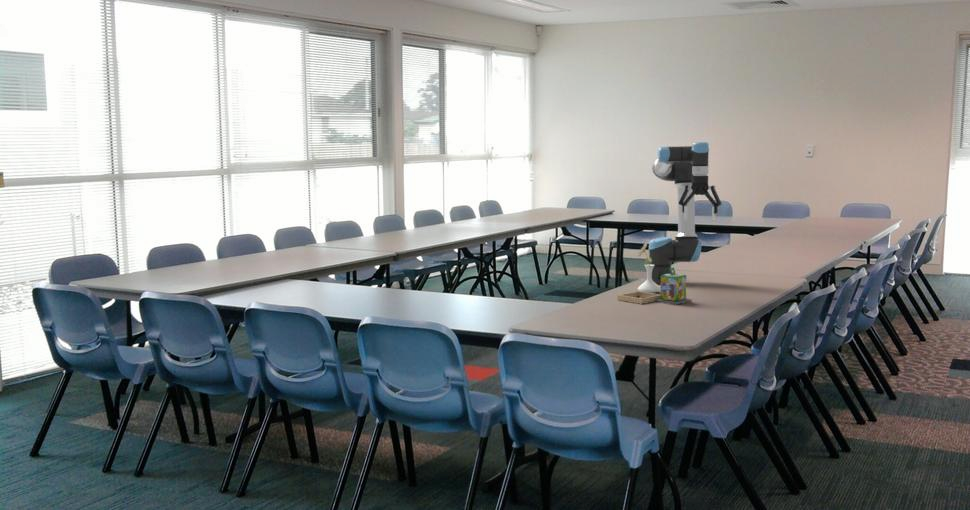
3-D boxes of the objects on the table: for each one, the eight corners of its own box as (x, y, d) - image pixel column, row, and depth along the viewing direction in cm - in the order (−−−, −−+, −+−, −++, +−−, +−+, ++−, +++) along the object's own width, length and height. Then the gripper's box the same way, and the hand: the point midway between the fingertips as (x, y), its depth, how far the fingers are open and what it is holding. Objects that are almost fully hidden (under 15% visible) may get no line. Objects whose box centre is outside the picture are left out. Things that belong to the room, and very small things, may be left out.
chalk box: (678, 301, 421) (678, 269, 419) (659, 300, 426) (660, 268, 424) (687, 298, 428) (687, 267, 426) (668, 297, 433) (669, 265, 432)
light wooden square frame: (617, 300, 434) (617, 294, 433) (638, 296, 443) (638, 291, 443) (641, 304, 422) (641, 298, 422) (662, 300, 432) (662, 294, 431)
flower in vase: (646, 290, 460) (646, 240, 457) (665, 292, 452) (666, 242, 449) (630, 293, 451) (630, 243, 448) (650, 296, 443) (650, 244, 439)
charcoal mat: (655, 301, 428) (655, 299, 428) (671, 298, 435) (671, 296, 435) (675, 304, 419) (675, 302, 419) (691, 301, 426) (691, 299, 426)
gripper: (672, 175, 437) (671, 219, 440) (723, 175, 424) (723, 221, 427) (677, 174, 444) (677, 218, 447) (728, 174, 431) (728, 220, 433)
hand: (699, 220), depth 437 cm, fingers open, 13 cm apart
